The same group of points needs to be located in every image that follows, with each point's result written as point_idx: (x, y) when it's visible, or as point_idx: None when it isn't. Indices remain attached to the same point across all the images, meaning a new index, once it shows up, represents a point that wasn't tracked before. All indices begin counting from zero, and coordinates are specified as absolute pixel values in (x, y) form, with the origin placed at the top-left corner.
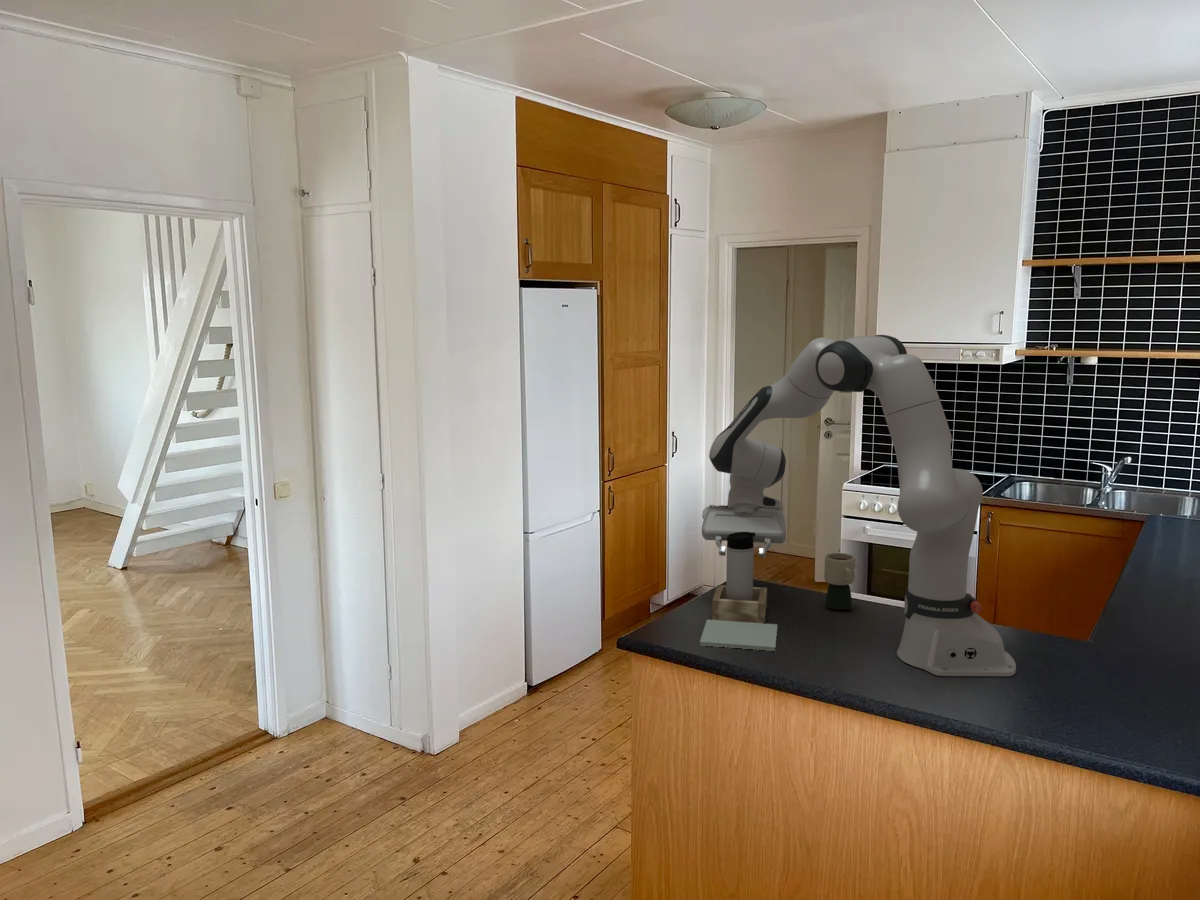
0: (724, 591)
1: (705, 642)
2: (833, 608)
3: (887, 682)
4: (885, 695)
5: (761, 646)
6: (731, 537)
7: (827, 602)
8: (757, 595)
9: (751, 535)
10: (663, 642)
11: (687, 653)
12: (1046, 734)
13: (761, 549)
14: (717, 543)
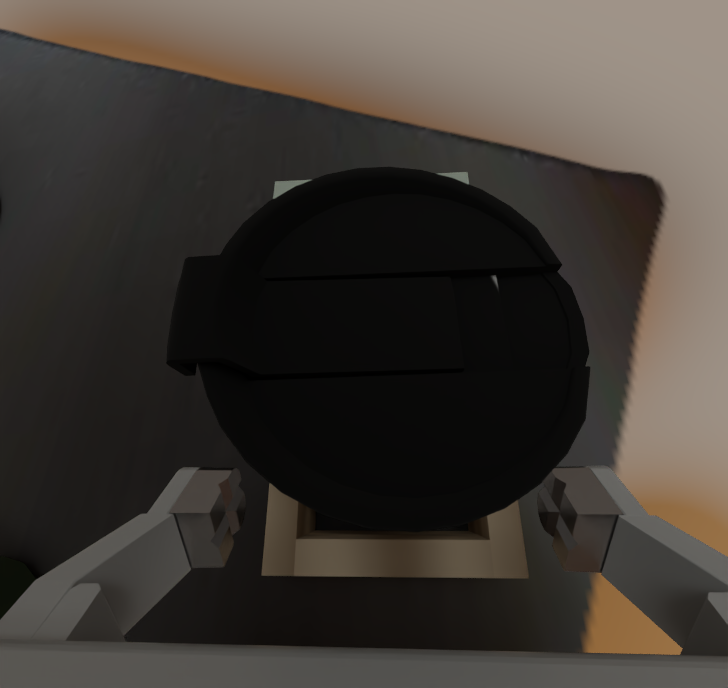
0: (476, 537)
1: (451, 173)
2: (19, 562)
3: (76, 116)
4: (101, 76)
5: (309, 180)
6: (512, 259)
7: (19, 596)
8: (316, 536)
9: (236, 278)
10: (563, 182)
11: (483, 141)
12: None
13: (192, 498)
14: (700, 546)
